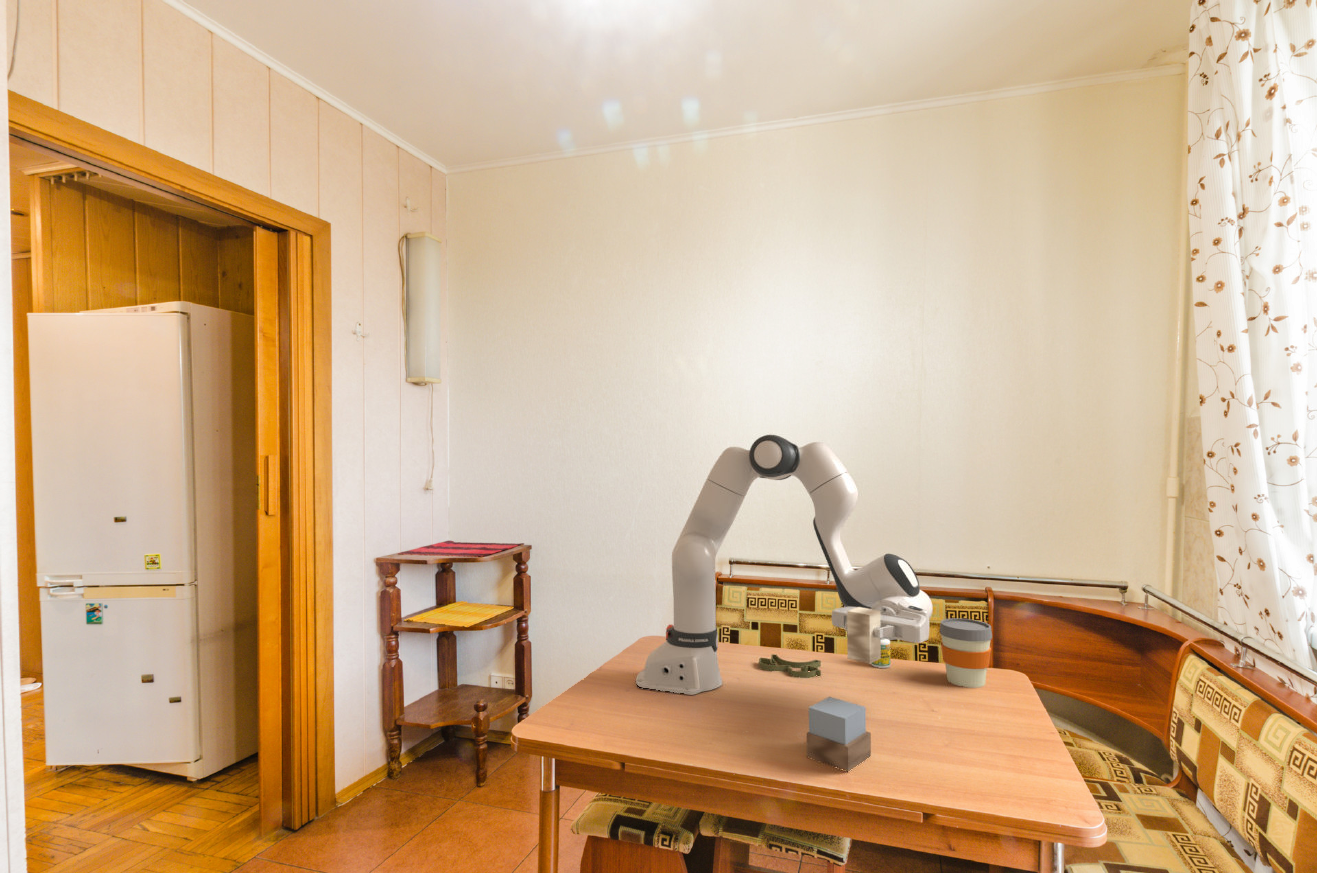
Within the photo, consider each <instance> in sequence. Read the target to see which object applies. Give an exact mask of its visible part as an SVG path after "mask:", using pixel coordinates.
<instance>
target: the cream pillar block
mask: <svg viewBox="0 0 1317 873" xmlns="http://www.w3.org/2000/svg"><path fill="white" fill-rule="evenodd" d="M876 627H880V611H879V610H873V609H867V608H862V607H857V608H854V609H851V610H849V611H847V631H846V632H847V634H846V635H847V636H846V637H847V639H846V640H847V641H846V642H847V648H846V650H847V659H849V660H852V661H856V662H861V663H865V664H870V665H871V663H872V662H874V661H876V660H878V659H880V658H881V638H878V637H874V636H873V633H874V632H873V629H874V628H876ZM880 628H881V627H880Z"/></svg>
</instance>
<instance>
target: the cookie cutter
mask: <svg viewBox="0 0 1317 873" xmlns="http://www.w3.org/2000/svg"><path fill="white" fill-rule="evenodd" d="M770 657H771V658H768V657H767V658H766V657H759V659H758V667H759V669H761V670H763V669H764V670H763V671H765V670H766V672H772V671H780V672H787V674H788V673H789V674H788V675H790V677H792V676H794V677H793V678H799V677H800V678H801V679H805V678H806V679H811V678H810V677H812V678H815V677H814V676H816V675H817V676H821V677H822V670H820V669H819V668H821V667H822V666H821V664H822V663H821V662H822V661H821V660H819V659H814V660H811V661H801V662H800V661H790V660H785V659H782V658H781V657H779V656H778V655H777V654H773V653H772V654H771V655H770ZM768 664H770V665H768ZM820 666H821V667H820ZM791 667H792V668H791ZM818 667H819V668H818ZM793 669H800V671H799V670H793ZM808 671H810V672H808ZM817 676H816V677H817Z"/></svg>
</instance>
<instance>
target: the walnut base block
mask: <svg viewBox="0 0 1317 873" xmlns="http://www.w3.org/2000/svg"><path fill="white" fill-rule="evenodd" d="M871 736H872V735H871V732H869V731H866V732H865V733H864V734H862V735H861V736H859V737H857V738H856V739H854V740H853V741H851V742H850V743H848V744H846V745H844V744H841V743H838V742H835V741H832V740H829V739H826V738H823V737H820V736H817V735H814V734H811V733H809V731H808V732H806V758H807V757H809V758H808V759H810V758H812V759H811V760H813V759H814V760H813V761H815V760H816V762H818V761H820V762H819V763H821V762H822V763H821V764H823V763H825V764H824V765H826V764H828V765H827V766H829V765H831V766H830V767H832V766H833V767H832V768H834V767H837V768H839V769H838V770H840V769H843V770H846V771H850V770H851V769H853V768H854V767H856V766H857V765H858V766H860V765H861V764H862V762H863V761H864V762H866V761H867V760H868V759H867V758H869V757H870V756H871V757H872V755H871V754H872V753H871V752H872V746H871V744H872V740H871V739H872V738H871ZM871 757H870V758H871ZM870 758H869V759H870ZM866 759H867V760H866ZM865 760H866V761H865ZM864 762H863V763H864ZM860 763H861V764H860ZM859 764H860V765H859ZM858 766H857V767H858ZM857 767H856V768H857ZM837 768H836V769H837ZM854 769H855V768H854ZM854 769H853V770H854ZM851 771H852V770H851ZM851 771H850V772H851Z"/></svg>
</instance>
